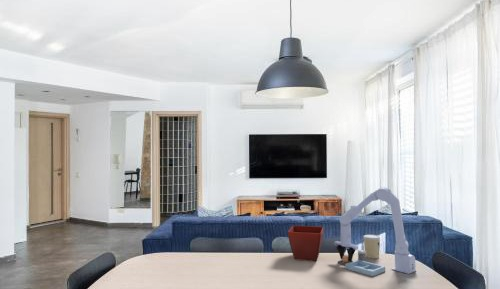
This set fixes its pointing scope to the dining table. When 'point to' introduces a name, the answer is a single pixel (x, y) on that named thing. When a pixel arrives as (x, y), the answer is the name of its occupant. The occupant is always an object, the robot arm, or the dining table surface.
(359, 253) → the shaker
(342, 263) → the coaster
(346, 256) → the ball
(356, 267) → the tray
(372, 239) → the coffee cup
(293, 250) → the plant pot
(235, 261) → the dining table surface
